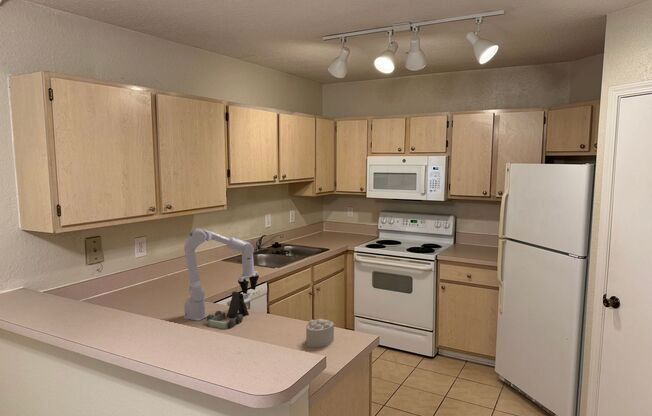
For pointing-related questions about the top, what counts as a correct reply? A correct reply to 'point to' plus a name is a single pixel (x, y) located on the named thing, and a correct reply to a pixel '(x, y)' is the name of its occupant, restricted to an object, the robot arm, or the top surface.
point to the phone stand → (237, 306)
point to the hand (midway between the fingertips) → (249, 291)
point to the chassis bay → (216, 323)
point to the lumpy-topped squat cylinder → (319, 333)
